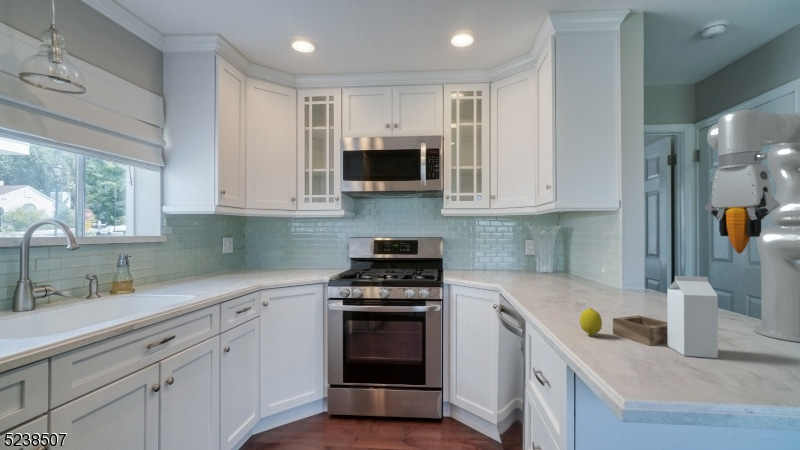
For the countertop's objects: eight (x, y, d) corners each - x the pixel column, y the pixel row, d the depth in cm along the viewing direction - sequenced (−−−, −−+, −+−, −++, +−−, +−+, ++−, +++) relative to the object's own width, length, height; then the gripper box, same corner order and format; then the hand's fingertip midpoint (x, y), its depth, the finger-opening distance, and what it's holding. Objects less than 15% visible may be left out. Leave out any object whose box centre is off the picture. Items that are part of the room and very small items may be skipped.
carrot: (747, 253, 85) (747, 193, 85) (758, 254, 80) (758, 191, 80) (721, 252, 87) (721, 193, 87) (731, 253, 82) (730, 192, 82)
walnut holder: (639, 330, 103) (639, 315, 103) (677, 341, 93) (677, 325, 93) (612, 333, 100) (612, 318, 100) (649, 345, 90) (649, 328, 90)
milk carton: (718, 358, 81) (717, 279, 81) (684, 356, 82) (683, 278, 83) (698, 348, 88) (698, 274, 88) (667, 346, 89) (667, 274, 90)
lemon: (602, 334, 99) (602, 307, 99) (601, 340, 94) (601, 311, 94) (580, 331, 102) (580, 304, 102) (579, 336, 97) (579, 308, 97)
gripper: (796, 156, 76) (797, 237, 76) (711, 168, 93) (711, 235, 93) (773, 154, 75) (773, 237, 75) (690, 167, 91) (690, 235, 91)
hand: (739, 235), depth 84 cm, fingers closed on carrot, 4 cm apart
